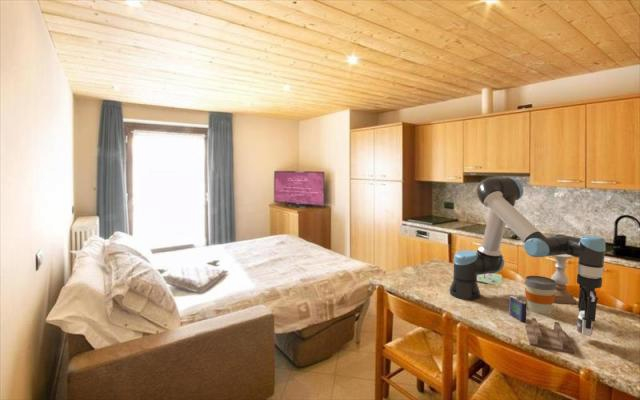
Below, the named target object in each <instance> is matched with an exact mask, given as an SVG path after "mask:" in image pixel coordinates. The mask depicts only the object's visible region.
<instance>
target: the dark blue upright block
mask: <svg viewBox="0 0 640 400" xmlns="http://www.w3.org/2000/svg"><path fill="white" fill-rule="evenodd" d="M527 308H528V305H527V301H525V300H523V299H522V298H521V295H516V296H514V295H510V296H509V311H508V315H509V316H511V317H512V318H514V319H515V320H517V321H519V322H520V323H522V324H526V323H527Z"/></svg>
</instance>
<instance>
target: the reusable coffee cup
mask: <svg viewBox="0 0 640 400" xmlns="http://www.w3.org/2000/svg"><path fill="white" fill-rule="evenodd" d="M524 279H525V280H524V285H525V288H524V291H525V292H524V294H525V299H526V303H527V309H528V310H529V311H530V312H533V313H535V314H539V315H540V314H541V315H548V314H550V313H551V309H552V306H553V305H552V304H554V303H553V302H554V298H555V289H556V281H555V280H553V279H551V277H547V276H543V275H542V276H540V275H526V276H525V278H524Z"/></svg>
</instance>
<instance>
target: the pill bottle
mask: <svg viewBox="0 0 640 400" xmlns="http://www.w3.org/2000/svg"><path fill="white" fill-rule="evenodd" d="M584 316H585V311H580V315H579V314H578V316H577V324H576V325H577V326H576V331H577V333H579V334H580V335H582V327H583V319H582V318H584ZM593 329H594V321H593V322H592V331H593ZM592 335H593V332H592V333H591V336H592Z"/></svg>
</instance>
